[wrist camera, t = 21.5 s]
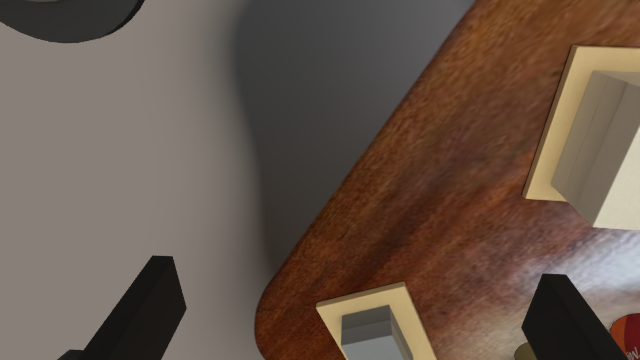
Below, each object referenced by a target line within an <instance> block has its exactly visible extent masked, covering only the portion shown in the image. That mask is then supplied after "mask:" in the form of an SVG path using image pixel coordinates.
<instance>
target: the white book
mask: <svg viewBox="0 0 640 360" xmlns="http://www.w3.org/2000/svg"><path fill="white" fill-rule="evenodd" d="M575 210H576V211H577V212H578V213H579V214H580V215H581V216H582V217H583V218H584V219H585V220H586V221H587V222H588V223H589V224H590V225H591V226H592V227H598V228H612V229H627V230H640V83H628V85H627V88H626V90H625V92H624V95H623V97H622V99H621V102H620V104H619V106H618V109H617V111H616V113H615V116H614V118H613V120H612V123H611V125H610V127H609V130H608V132H607V134H606V137H605V139H604V142H603V144H602V146H601V149H600V151H599V153H598V156H597V158H596V160H595V163H594V165H593V167H592V170H591V172H590V174H589V177H588V179H587V181H586V184H585V186H584V188H583V191H582V193H581V195H580V198H579V200H578V202H577V205H576V207H575Z"/></svg>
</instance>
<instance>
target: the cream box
mask: <svg viewBox="0 0 640 360" xmlns="http://www.w3.org/2000/svg"><path fill="white" fill-rule="evenodd" d="M628 83H640V48H638V47H609V46H581V45H573V46H572V47H571V50H570V53H569V56H568V59H567V62H566V65H565V68H564V71H563V74H562V77H561V80H560V83H559V86H558V89H557V92H556V95H555V98H554V101H553V104H552V107H551V110H550V113H549V116H548V119H547V122H546V125H545V128H544V131H543V134H542V137H541V140H540V143H539V146H538V148H537V151H536V154H535V157H534V160H533V163H532V166H531V169H530V172H529V175H528V178H527V181H526V184H525V187H524V190H523V193H522V195H523V196H524V197H525V198H526V199H538V200H554V201H568V202H569V203H570V204H571V205H572V206H573V207H574V208H575V207H576V205H577V202H578V200H579V198H580V195H581V193H582V191H583V188H584V186H585V184H586V181H587V179H588V177H589V174H590V172H591V170H592V167H593V165H594V163H595V160H596V158H597V156H598V153H599V151H600V149H601V146H602V144H603V142H604V139H605V137H606V134H607V132H608V130H609V127H610V125H611V123H612V120H613V118H614V116H615V113H616V111H617V109H618V106H619V104H620V102H621V99H622V97H623V95H624V92H625V90H626V88H627V85H628Z"/></svg>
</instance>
